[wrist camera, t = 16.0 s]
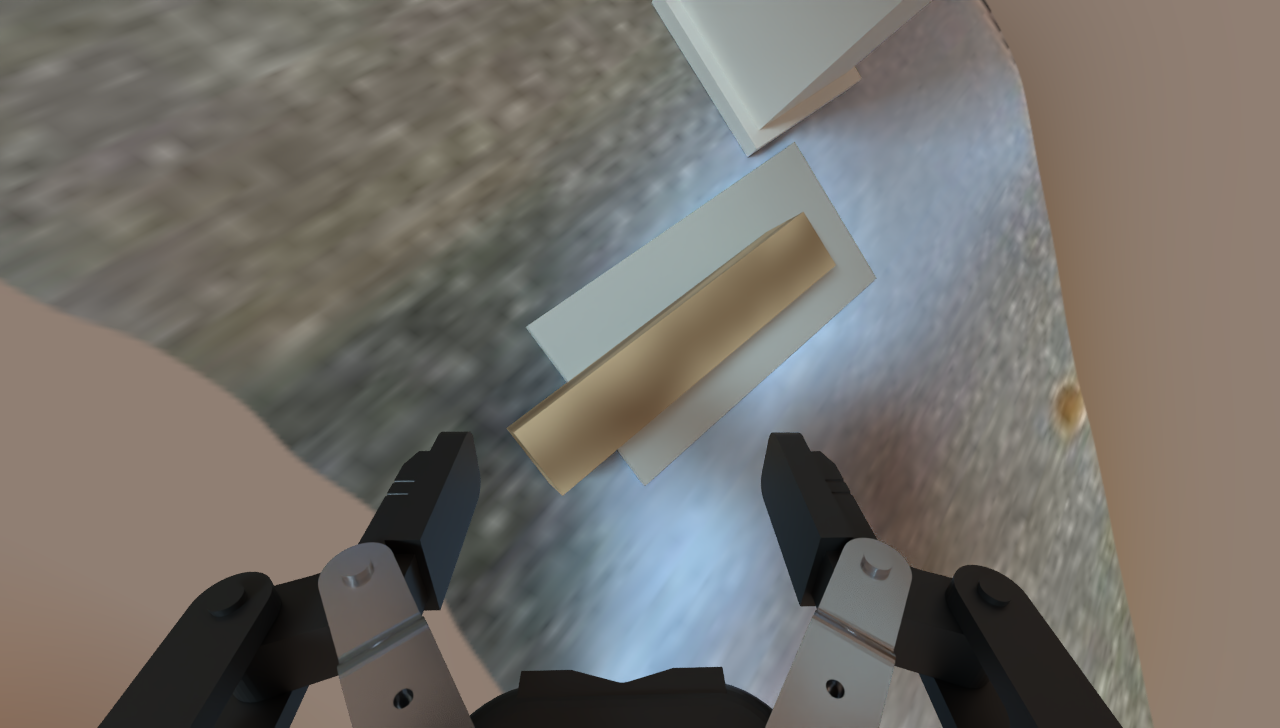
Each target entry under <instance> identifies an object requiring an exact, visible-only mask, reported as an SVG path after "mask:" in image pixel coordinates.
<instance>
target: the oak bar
mask: <svg viewBox="0 0 1280 728" xmlns="http://www.w3.org/2000/svg"><path fill="white" fill-rule="evenodd" d="M834 266H836V264H835V262H834V261H833V259H832V258H831V256H830V254H829V253H828V251H827V249H826V248H825V246H824V244H823V243H822V241H821V239H820V238H819V236H818V235H817V233H816V231H815V230H814V228H813V226H812V225H811V223H810V221H809V220H808V218H807V217H806V215H805V213H804V212H802V213H800V214H798V215H797V216H795V217H793V218H791V219H789V220H787V221H786V222H784V223H782V224H780V225H778V226H776V227H775V228H773V229H771V230H769V231H767V232H766V233H764V234H763V235H762V236H760V237H759V238H758V239H756V240H755V241H754V242H753V243H751V244H750V245H749V246H747V247H746V248H745V249H743V250H742V251H741V252H739V253H738V254H737V255H735V256H734V257H733V258H731V259H730V260H729V261H727V262H726V263H725V264H723V265H722V266H721V267H719V268H718V269H717V270H715V271H714V272H713V273H711V274H710V275H709V276H707V277H706V278H705V279H704V280H702V281H701V282H700V283H698V284H697V285H696V286H694V287H693V288H692V289H690V290H689V291H688V292H686V293H685V294H684V295H682V296H681V297H680V298H678V299H677V300H676V301H674V302H673V303H672V304H670V305H669V306H668V307H666V308H665V309H664V310H662V311H661V312H660V313H658V314H657V315H656V316H655V317H653V318H652V319H651V320H649V321H648V322H647V323H645V324H644V325H643V326H641V327H640V328H639V329H637V330H636V331H635V332H633V333H632V334H631V335H629V336H628V337H627V338H625V339H624V340H623V341H621V342H620V343H619V344H617V345H616V346H615V347H613V348H612V349H611V350H609V351H608V352H607V353H606V354H604V355H603V356H602V357H600V358H599V359H598V360H596V361H595V362H594V363H592V364H591V365H590V366H588V367H587V368H586V369H584V370H583V371H582V372H580V373H579V374H578V375H576V376H575V377H574V378H572V379H571V380H570V381H568V382H567V383H566V384H564V385H563V386H562V387H560V388H559V389H558V390H556V391H555V392H554V393H553V394H551V395H550V396H549V397H547V398H546V399H545V400H543V401H542V402H541V403H539V404H538V405H537V406H535V407H534V408H533V409H531V410H530V411H529V412H527V413H526V414H525V415H523V416H522V417H521V418H519V419H518V420H517V421H515V422H514V423H513V424H511V425H510V426H509V427H507V429H508V431H509V432H510V433H511V435H512V436H513V437H514V438H515V440H516V441H517V442H518V444H519V445H520V446H521V447H522V449H523V450H524V451H525V453H526V454H527V455H528V456H529V458H530V459H531V460H532V462H533V463H534V464H535V465H536V467H537V468H538V469H539V471H540V472H541V473H542V475H543V476H544V477H545V478H546V480H547V481H548V482H549V483H550V484H551V485H552V486H553V487H554V488H555V489H556V490H557V491H558V492H559V493H560V494H561V495H562V496H563V495H564V494H565V493H566V492H568V491H569V490H570V489H571V488H572V487H574V486H575V485H576V484H577V483H578V482H580V481H581V480H582V479H583V478H584V477H585V476H587V475H588V474H589V473H590V472H591V471H593V470H594V469H595V468H596V467H597V466H598V465H600V464H601V463H602V462H603V461H604V460H606V459H607V458H608V457H609V456H610V455H612V454H613V453H614V452H615V451H616V450H617V449H619V448H620V447H621V446H622V445H623V444H625V443H626V442H627V441H628V440H629V439H630V438H632V437H633V436H634V435H635V434H636V433H638V432H639V431H640V430H641V429H642V428H644V427H645V426H646V425H647V424H648V423H649V422H651V421H652V420H653V419H654V418H655V417H657V416H658V415H659V414H660V413H661V412H662V411H664V410H665V409H666V408H667V407H668V406H670V405H671V404H672V403H673V402H674V401H676V400H677V399H678V398H679V397H680V396H681V395H683V394H684V393H685V392H686V391H687V390H689V389H690V388H691V387H692V386H693V385H694V384H696V383H697V382H698V381H699V380H700V379H702V378H703V377H704V376H705V375H706V374H708V373H709V372H710V371H711V370H712V369H713V368H715V367H716V366H717V365H718V364H719V363H721V362H722V361H723V360H724V359H725V358H726V357H728V356H729V355H730V354H731V353H732V352H734V351H735V350H736V349H737V348H738V347H740V346H741V345H742V344H743V343H744V342H745V341H747V340H748V339H749V338H750V337H751V336H753V335H754V334H755V333H756V332H757V331H758V330H760V329H761V328H762V327H763V326H764V325H766V324H767V323H768V322H769V321H770V320H772V319H773V318H774V317H775V316H776V315H777V314H779V313H780V312H781V311H782V310H783V309H785V308H786V307H787V306H788V305H789V304H790V303H792V302H793V301H794V300H795V299H796V298H798V297H799V296H800V295H801V294H802V293H804V292H805V291H806V290H807V289H808V288H809V287H811V286H812V285H813V284H814V283H815V282H817V281H818V280H819V279H820V278H821V277H822V276H824V275H825V274H826V273H827V272H828V271H830V270H831V269H832V268H833V267H834Z"/></svg>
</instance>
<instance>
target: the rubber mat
mask: <svg viewBox="0 0 1280 728" xmlns="http://www.w3.org/2000/svg"><path fill="white" fill-rule="evenodd" d="M802 212H804V213H805V215H806V217H807V218H808V220H809V221H810V223H811V225H812V226H813V228H814V230H815V231H816V233H817V235H818V236H819V238H820V239H821V241H822V243H823V244H824V246H825V248H826V249H827V251H828V253H829V254H830V256H831V258H832V259H833V261H834V262H835V264H836V266H834V267H833V268H832V269H831V270H830V271H828V272H827V273H826V274H825V275H824V276H822V277H821V278H820V279H819V280H818V281H817V282H815V283H814V284H813V285H812V286H811V287H809V288H808V289H807V290H806V291H805V292H804V293H802V294H801V295H800V296H799V297H798V298H796V299H795V300H794V301H793V302H792V303H790V304H789V305H788V306H787V307H786V308H785V309H783V310H782V311H781V312H780V313H779V314H777V315H776V316H775V317H774V318H773V319H772V320H770V321H769V322H768V323H767V324H766V325H764V326H763V327H762V328H761V329H760V330H758V331H757V332H756V333H755V334H754V335H753V336H751V337H750V338H749V339H748V340H747V341H745V342H744V343H743V344H742V345H741V346H740V347H738V348H737V349H736V350H735V351H734V352H732V353H731V354H730V355H729V356H728V357H726V358H725V359H724V360H723V361H722V362H721V363H719V364H718V365H717V366H716V367H715V368H713V369H712V370H711V371H710V372H709V373H708V374H706V375H705V376H704V377H703V378H702V379H700V380H699V381H698V382H697V383H696V384H694V385H693V386H692V387H691V388H690V389H689V390H687V391H686V392H685V393H684V394H683V395H681V396H680V397H679V398H678V399H677V400H676V401H674V402H673V403H672V404H671V405H670V406H668V407H667V408H666V409H665V410H664V411H662V412H661V413H660V414H659V415H658V416H657V417H655V418H654V419H653V420H652V421H651V422H649V423H648V424H647V425H646V426H645V427H644V428H642V429H641V430H640V431H639V432H638V433H636V434H635V435H634V436H633V437H632V438H630V439H629V440H628V441H627V442H626V443H625V444H623V445H622V446H621V447H620V448H619V449H617V451H618V452H619V453H620V455H621V456H622V457H623V459H624V460H625V461H626V463H627V464H628V465H629V467H630V468H631V469H632V471H633V472H634V473H635V475H636V476H637V478H638V479H639V480H640V482H641V483H642V484H643V485H644V486H646V485H647V484H648V483H649V482H650V481H651V480H652V479H653V478H655V477H656V476H657V475H658V474H659V473H660V472H661V471H662V470H663V469H665V468H666V467H667V466H668V465H669V464H670V463H671V462H672V461H673V460H675V459H676V458H677V457H678V456H679V455H680V454H681V453H682V452H684V451H685V450H686V449H687V448H688V447H689V446H690V445H691V444H692V443H694V442H695V441H696V440H697V439H698V438H699V437H700V436H701V435H702V434H704V433H705V432H706V431H707V430H708V429H709V428H710V427H711V426H712V425H714V424H715V423H716V422H717V421H718V420H719V419H720V418H721V417H723V416H724V415H725V414H726V413H727V412H728V411H729V410H730V409H731V408H733V407H734V406H735V405H736V404H737V403H738V402H739V401H740V400H741V399H743V398H744V397H745V396H746V395H747V394H748V393H749V392H750V391H751V390H753V389H754V388H755V387H756V386H757V385H758V384H759V383H760V382H761V381H763V380H764V379H765V378H766V377H767V376H768V375H769V374H770V373H772V372H773V371H774V370H775V369H776V368H777V367H778V366H779V365H780V364H782V363H783V362H784V361H785V360H786V359H787V358H788V357H789V356H790V355H792V354H793V353H794V352H795V351H796V350H797V349H798V348H799V347H800V346H802V345H803V344H804V343H805V342H806V341H807V340H808V339H809V338H810V337H812V336H813V335H814V334H815V333H816V332H817V331H818V330H819V329H821V328H822V327H823V326H824V325H825V324H826V323H827V322H828V321H829V320H831V319H832V318H833V317H834V316H835V315H836V314H837V313H838V312H839V311H841V310H842V309H843V308H844V307H845V306H846V305H847V304H848V303H849V302H851V301H852V300H853V299H854V298H855V297H856V296H857V295H858V294H860V293H861V292H862V291H863V290H864V289H865V288H866V287H867V286H868V285H870V284H871V283H872V282H873V281H874V280H875V279H876V276H875V275H874V273H873V271H872V270H871V268H870V266H869V265H868V263H867V261H866V260H865V258H864V256H863V255H862V253H861V251H860V250H859V248H858V246H857V245H856V243H855V241H854V240H853V238H852V236H851V235H850V233H849V231H848V230H847V228H846V226H845V225H844V223H843V221H842V220H841V218H840V216H839V215H838V213H837V211H836V210H835V208H834V206H833V205H832V203H831V201H830V200H829V198H828V196H827V195H826V193H825V191H824V190H823V188H822V186H821V185H820V183H819V181H818V180H817V178H816V176H815V175H814V173H813V171H812V170H811V168H810V166H809V165H808V163H807V161H806V160H805V158H804V156H803V155H802V153H801V151H800V150H799V148H798V146H797V145H796V143H795V142H794V143H792V144H791V145H789V146H788V147H787V148H785V149H784V150H782V151H781V152H779V153H778V154H776V155H775V156H774V157H772V158H771V159H769V160H768V161H766V162H765V163H763V164H762V165H760V166H759V167H758V168H756V169H755V170H753V171H752V172H750V173H749V174H747V175H746V176H744V177H743V178H742V179H740V180H739V181H737V182H736V183H734V184H733V185H731V186H730V187H729V188H727V189H726V190H724V191H723V192H721V193H720V194H718V195H717V196H715V197H714V198H713V199H711V200H710V201H708V202H707V203H705V204H704V205H702V206H701V207H700V208H698V209H697V210H695V211H694V212H692V213H691V214H689V215H688V216H686V217H685V218H684V219H682V220H681V221H679V222H678V223H676V224H675V225H673V226H672V227H670V228H669V229H668V230H666V231H665V232H663V233H662V234H660V235H659V236H657V237H656V238H655V239H653V240H652V241H650V242H649V243H647V244H646V245H644V246H643V247H641V248H640V249H639V250H637V251H636V252H634V253H633V254H631V255H630V256H628V257H627V258H626V259H624V260H623V261H621V262H620V263H618V264H617V265H615V266H614V267H612V268H611V269H610V270H608V271H607V272H605V273H604V274H602V275H601V276H599V277H598V278H596V279H595V280H594V281H592V282H591V283H589V284H588V285H586V286H585V287H583V288H582V289H581V290H579V291H578V292H576V293H575V294H573V295H572V296H570V297H569V298H567V299H566V300H565V301H563V302H562V303H560V304H559V305H557V306H556V307H554V308H553V309H551V310H550V311H549V312H547V313H546V314H544V315H543V316H541V317H540V318H538V319H537V320H536V321H534V322H533V323H531V324H530V325H528V326H527V327H526V328H527V329H528V331H529V332H530V333H531V335H532V336H533V337H534V339H535V340H536V342H537V343H538V344H539V346H540V347H541V348H542V350H543V351H544V352H545V354H546V355H547V356H548V358H549V359H550V360H551V362H552V363H553V364H554V366H555V367H556V368H557V370H558V371H559V372H560V374H561V375H562V377H563V378H564V379H565V381H566V382H568V381H570V380H571V379H572V378H574V377H575V376H576V375H578V374H579V373H580V372H582V371H583V370H584V369H586V368H587V367H588V366H590V365H591V364H592V363H594V362H595V361H596V360H598V359H599V358H600V357H602V356H603V355H604V354H606V353H607V352H608V351H609V350H611V349H612V348H613V347H615V346H616V345H617V344H619V343H620V342H621V341H623V340H624V339H625V338H627V337H628V336H629V335H631V334H632V333H633V332H635V331H636V330H637V329H639V328H640V327H641V326H643V325H644V324H645V323H647V322H648V321H649V320H651V319H652V318H653V317H655V316H656V315H657V314H658V313H660V312H661V311H662V310H664V309H665V308H666V307H668V306H669V305H670V304H672V303H673V302H674V301H676V300H677V299H678V298H680V297H681V296H682V295H684V294H685V293H686V292H688V291H689V290H690V289H692V288H693V287H694V286H696V285H697V284H698V283H700V282H701V281H702V280H704V279H705V278H706V277H707V276H709V275H710V274H711V273H713V272H714V271H715V270H717V269H718V268H719V267H721V266H722V265H723V264H725V263H726V262H727V261H729V260H730V259H731V258H733V257H734V256H735V255H737V254H738V253H739V252H741V251H742V250H743V249H745V248H746V247H747V246H749V245H750V244H751V243H753V242H754V241H755V240H756V239H758V238H759V237H760V236H762V235H763V234H764V233H766V232H767V231H769V230H771V229H773V228H775V227H776V226H778V225H780V224H782V223H784V222H786V221H787V220H789V219H791V218H793V217H795V216H797V215H798V214H800V213H802Z"/></svg>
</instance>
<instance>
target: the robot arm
mask: <svg viewBox="0 0 1280 728" xmlns="http://www.w3.org/2000/svg"><path fill="white" fill-rule="evenodd" d="M761 489H762V495H763V499H764V502H765V505H766V508H767V511H768V514H769V517H770V520H771V523H772V525H773V528H774V531H775V534H776V537H777V540H778V543H779V546H780V549H781V552H782V555H783V558H784V561H785V564H786V566H787V569H788V572H789V575H790V578H791V581H792V584H793V587H794V590H795V593H796V596H797V599H798V602H799V605H800V606H816V608H817V610H816V611H815V613H814V615H813V617H812V619H811V622H810V624H809V626H808V629H807V631H806V633H805V636H804V638H803V640H802V643H801V645H800V647H799V650H798V652H797V654H796V657H795V659H794V661H793V664H792V666H791V668H790V671H789V673H788V675H787V678H786V680H785V682H784V685H783V687H782V689H781V692H780V694H779V696H778V699H777V701H776V703H775V706H774V708H773V709H772V708H770V707H769V706H768V705H767V704H765V703H764V702H763V701H761V700H760V699H758V698H757V697H755V696H753V695H752V694H750V693H748V692H746V691H744V690H742V689H739V688H737V687H734V686H732V685H728V684H725V680H724V674H723V668H722V667H697V668H672V669H669V670H665V671H662V672H659V673H656V674H652V675H649V676H646V677H643V678H639V679H636V680H633V681H629V682H625V683H620V682H615V681H611V680H607V679H604V678H600V677H596V676H592V675H588V674H585V673H581V672H577V671H573V670H549V671H521V676H520V682H519V688H517V689H514V690H511V691H508V692H506V693H504V694H502V695H499V696H497V697H496V698H494V699H492V700H491V701H489V702H487V703H486V704H484V705H483V706H481V707H480V708H479V709H477V710H476V711H475V712H473V713H472V714H471V715H470V716H469V714H468V711H467V709H466V707H465V705H464V703H463V701H462V698H461V696H460V694H459V692H458V689H457V687H456V685H455V683H454V681H453V678H452V677H451V674H450V672H449V670H448V668H447V665H446V663H445V661H444V659H443V657H442V654H441V652H440V650H439V648H438V646H437V644H436V641H435V639H434V637H433V635H432V633H431V630H430V628H429V626H428V624H427V622H426V620H425V618H424V617H423V616H422V614H423V611H424V610H440V609H441V606H442V603H443V600H444V598H445V595H446V592H447V589H448V586H449V583H450V580H451V577H452V574H453V571H454V568H455V565H456V562H457V560H458V557H459V554H460V551H461V548H462V545H463V542H464V539H465V536H466V533H467V530H468V527H469V524H470V522H471V519H472V516H473V513H474V510H475V507H476V504H477V501H478V498H479V493H480V472H479V466H478V461H477V455H476V450H475V444H474V439H473V435H472V433H471V432H441V433H440V434H439V435H438V437H437V439H436V441H435V442H434V444H433V446H432V448H431V450H430V451H419V452H418V453H416V454H415V455H414V456H413V457H412V458H411V459H409V460H408V461H407V462H406V463H405V464H404V465H403V466H402V468H401V470H400V471H399V473H398V475H397V477H396V478H395V482H394V483H393V484H392V486H391V487H390V489H389V491H388V493H387V496H385V498H384V500H383V501H382V503H381V505H380V507H379V508H378V510H377V512H376V514H375V515H374V517H373V519H372V521H371V522H370V525H369V526H368V528H367V530H366V531H365V533H364V535H363V537H362V538H361V540H360V542H359V543H358V545H355V546H352V547H350V548H348V549H346V550H344V551H342V552H341V553H339V554H338V555H336V556H335V557H334V558H333V559H332V560H330V561H329V562H328V563H327V565H326V566H325V567H324V569H323V570H322V572H321V573H319V574H316V575H313V576H309V577H306V578H302V579H298V580H294V581H291V582H287V583H283V584H279V585H276V586H274V585H273V583H272V581H271V580H270V578H269V577H268V576H267V575H265V574H263V573H259V572H245V573H240V574H236V575H233V576H231V577H228V578H226V579H224V580H221V581H220V582H218V583H216V584H214V585H213V586H211V587H210V588H208V589H207V590H206V591H204V592H203V593H202V594H201V595H199V596H198V597H197V598H196V599H195V600H194V601H193V602H192V604H191V605H190V606H189V607H188V609H187V610H186V611H185V613H184V614H183V615H182V617H181V618H180V619H179V621H178V622H177V623H176V625H175V626H174V627H173V629H172V630H171V631H170V633H169V634H168V635H167V637H166V638H165V639H164V640H163V642H162V643H161V645H160V646H159V647H158V648H157V650H156V651H155V652H154V654H153V655H152V656H151V658H150V659H149V660H148V662H147V663H146V664H145V666H144V667H143V668H142V670H141V671H140V672H139V674H138V675H137V676H136V678H135V679H134V680H133V681H132V683H131V684H130V685H129V687H128V688H127V690H126V691H125V692H124V693H123V695H122V696H121V698H120V699H119V700H118V701H117V703H116V704H115V705H114V707H113V708H112V709H111V711H110V712H109V713H108V715H107V716H106V717H105V719H104V720H103V721H102V723H101V724H100V725H99V726H98V728H290V725H291V723H292V721H293V719H294V717H295V715H296V712H297V710H298V708H299V706H300V704H301V701H302V699H303V697H304V695H305V693H306V691H307V688H308V686H309V685H311V684H314V683H316V682H320V681H323V680H326V679H329V678H332V677H335V676H338V675H339V679H340V683H341V686H342V690H343V694H344V698H345V701H346V705H347V709H348V712H349V716H350V720H351V723H352V727H353V728H879V725H880V721H881V717H882V713H883V709H884V705H885V701H886V697H887V693H888V689H889V685H890V681H891V677H892V673H893V669H894V666H897V667H900V668H904V669H907V670H910V671H913V672H917V673H919V675H920V677H921V679H922V682H923V684H924V686H925V688H926V691H927V693H928V695H929V697H930V700H931V702H932V704H933V706H934V709H935V711H936V713H937V715H938V718H939V720H940V722H941V724H942V727H943V728H1123V727H1122V726H1121V725H1120V723H1119V722H1118V721H1117V719H1116V718H1115V716H1114V715H1113V714H1112V712H1111V711H1110V709H1109V708H1108V707H1107V705H1106V704H1105V703H1104V701H1103V700H1102V698H1101V697H1100V696H1099V694H1098V693H1097V692H1096V690H1095V689H1094V687H1093V686H1092V685H1091V683H1090V682H1089V681H1088V679H1087V678H1086V676H1085V675H1084V674H1083V672H1082V671H1081V669H1080V668H1079V667H1078V665H1077V664H1076V663H1075V661H1074V660H1073V658H1072V657H1071V656H1070V654H1069V653H1068V652H1067V650H1066V649H1065V647H1064V646H1063V645H1062V643H1061V642H1060V640H1059V639H1058V638H1057V636H1056V635H1055V634H1054V632H1053V631H1052V629H1051V628H1050V627H1049V625H1048V624H1047V623H1046V621H1045V620H1044V618H1043V617H1042V616H1041V614H1040V613H1039V612H1038V610H1037V609H1036V607H1035V606H1034V605H1033V603H1032V602H1031V600H1030V599H1029V598H1028V596H1027V595H1026V594H1025V593H1024V591H1023V590H1022V589H1021V588H1020V587H1019V586H1018V585H1017V584H1015V583H1014V582H1013V581H1012V580H1010V579H1009V578H1007V577H1006V576H1004V575H1003V574H1001V573H999V572H997V571H995V570H992V569H990V568H987V567H983V566H978V565H967V566H963V567H961V568H959V569H958V570H957V571H956V573H955V574H954V576H953V578H949V577H945V576H942V575H938V574H934V573H930V572H926V571H922V570H919V569H916V568H913V567H910V566H909V565H908V563H907V561H906V560H905V559H904V557H903V556H902V555H901V554H900V553H899V552H898V551H896V550H895V549H894V548H892V547H891V546H889V545H887V544H885V543H883V542H881V541H878V540H877V538H876V537H875V535H874V533H873V531H872V529H871V528H870V526H869V524H868V522H867V521H866V519H865V517H864V515H863V513H862V512H861V510H860V508H859V506H858V504H857V503H856V501H855V499H854V497H853V496H852V495H851V494H850V490H849V488H848V487H847V485H846V483H845V482H843V478H842V476H841V474H840V472H839V470H838V469H837V467H836V465H835V464H834V463H833V462H832V461H831V460H829V459H828V458H827V457H826V456H825V455H824V454H823V453H821V452H820V451H810V450H809V448H808V446H807V444H806V442H805V440H804V438H803V436H802V435H801V434H800V433H771V434H770V436H769V440H768V445H767V450H766V455H765V460H764V465H763V470H762V476H761Z"/></svg>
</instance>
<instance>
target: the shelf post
mask: <svg viewBox="0 0 1280 728" xmlns="http://www.w3.org/2000/svg"><path fill="white" fill-rule="evenodd" d="M931 1H932V0H653V1H652V4H653V6H654V7H655V9H656V11H657V12H658V14H659V15H660V17H661V19H662V20H663V22H664V24H665V25H666V27H667V28H668V30H669V32H670V33H671V35H672V36H673V38H674V40H675V41H676V43H677V45H678V46H679V48H680V49H681V51H682V53H683V54H684V56H685V57H686V59H687V61H688V62H689V64H690V65H691V67H692V69H693V70H694V72H695V74H696V75H697V77H698V78H699V80H700V82H701V83H702V85H703V86H704V88H705V90H706V91H707V93H708V95H709V96H710V98H711V99H712V101H713V103H714V104H715V106H716V107H717V109H718V111H719V112H720V114H721V115H722V117H723V119H724V120H725V122H726V124H727V125H728V127H729V128H730V130H731V132H732V133H733V135H734V136H735V138H736V140H737V141H738V143H739V145H740V146H741V148H742V149H743V151H744V153H745V154H746V156H747V157H749V156H750V155H752V154H753V153H755V152H756V151H758V150H759V149H761V148H762V147H764V146H765V145H767V144H768V143H770V142H771V141H773V140H774V139H776V138H777V137H778V136H780V135H781V134H783V133H784V132H786V131H787V130H789V129H790V128H792V127H793V126H795V125H796V124H798V123H799V122H801V121H802V120H804V119H805V118H807V117H808V116H810V115H811V114H813V113H814V112H816V111H817V110H819V109H820V108H822V107H823V106H825V105H826V104H828V103H829V102H831V101H832V100H833V99H835V98H836V97H838V96H839V95H841V94H842V93H844V92H845V91H847V90H848V89H850V88H851V87H852V86H854V85H855V84H856V83H857V82H859V81H860V80H861V79H862V78H861V76H860V74H859V73H858V71H857V69H856V67H855V65H857V64H858V63H859V62H860V61H861V60H863V59H864V58H865V57H866V56H867V55H868V54H870V53H871V52H872V51H873V50H874V49H876V48H877V47H878V46H879V45H880V44H881V43H883V42H884V41H885V40H886V39H887V38H889V37H890V36H891V35H892V34H893V33H894V32H896V31H897V30H898V29H899V28H900V27H902V26H903V25H904V24H905V23H906V22H907V21H909V20H910V19H911V18H912V17H913V16H915V15H916V14H917V13H918V12H919V11H920V10H922V9H923V8H924V7H925V6H926V5H928V4H929V3H930V2H931Z"/></svg>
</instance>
